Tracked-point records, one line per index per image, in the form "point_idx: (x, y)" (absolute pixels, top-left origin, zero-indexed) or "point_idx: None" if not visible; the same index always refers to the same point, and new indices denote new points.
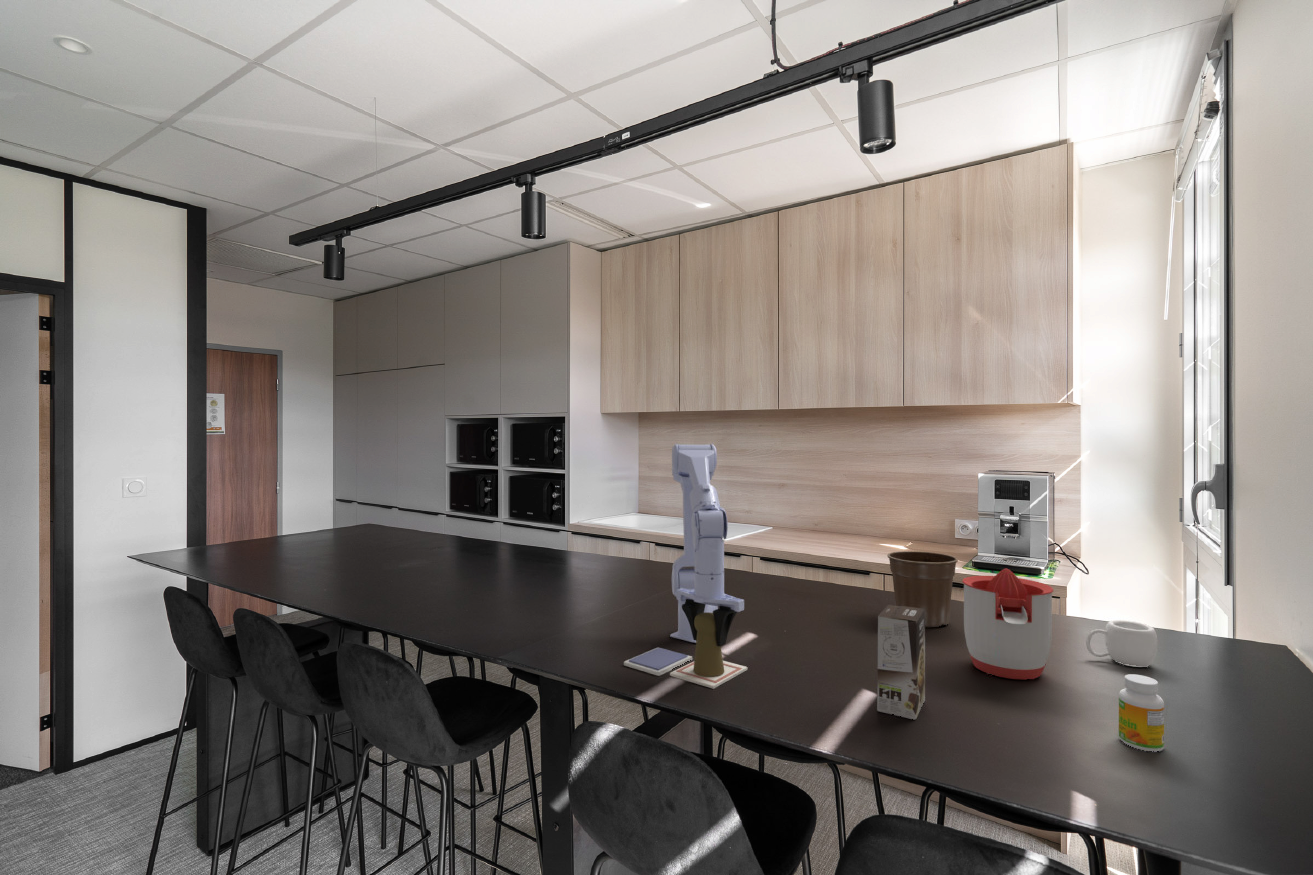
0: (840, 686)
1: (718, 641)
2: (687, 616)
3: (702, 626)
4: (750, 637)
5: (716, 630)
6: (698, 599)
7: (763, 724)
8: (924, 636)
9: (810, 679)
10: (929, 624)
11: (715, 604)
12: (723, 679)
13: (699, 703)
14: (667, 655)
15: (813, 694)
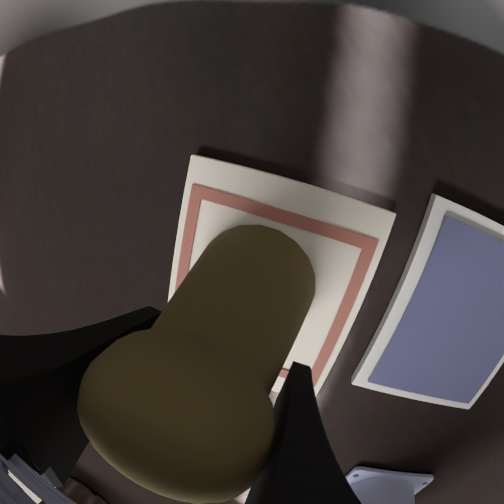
0: (18, 291)
1: (137, 313)
2: (331, 473)
3: (158, 343)
4: (246, 496)
5: (104, 340)
6: None
7: (55, 43)
8: None
9: (52, 312)
10: (71, 480)
11: (41, 490)
12: (182, 226)
13: (198, 30)
14: (438, 358)
15: (25, 236)
